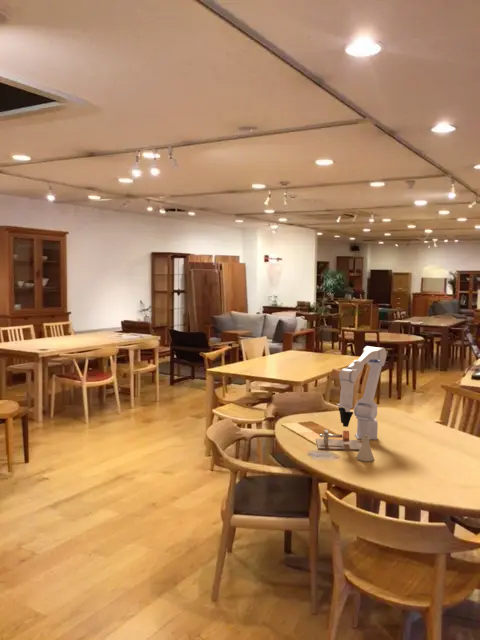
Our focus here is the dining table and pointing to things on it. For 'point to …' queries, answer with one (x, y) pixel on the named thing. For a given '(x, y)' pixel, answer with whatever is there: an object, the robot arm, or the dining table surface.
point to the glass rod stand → (339, 436)
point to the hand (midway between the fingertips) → (344, 424)
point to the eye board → (337, 444)
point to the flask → (365, 450)
